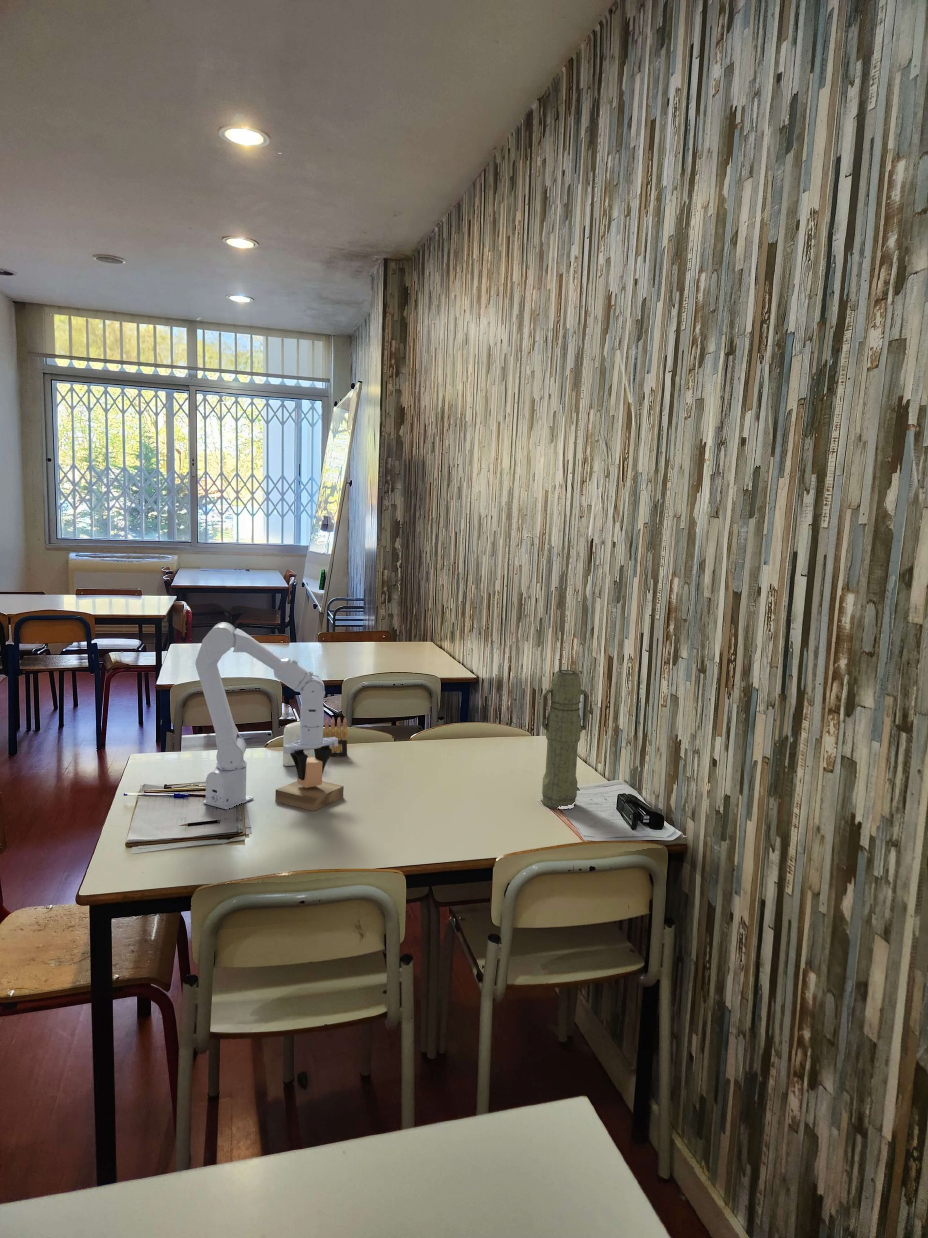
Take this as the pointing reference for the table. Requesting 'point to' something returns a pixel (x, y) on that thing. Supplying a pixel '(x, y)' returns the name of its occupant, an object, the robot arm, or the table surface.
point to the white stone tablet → (290, 737)
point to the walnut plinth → (309, 795)
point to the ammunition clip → (342, 743)
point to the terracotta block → (312, 773)
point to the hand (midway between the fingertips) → (310, 777)
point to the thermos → (562, 737)
